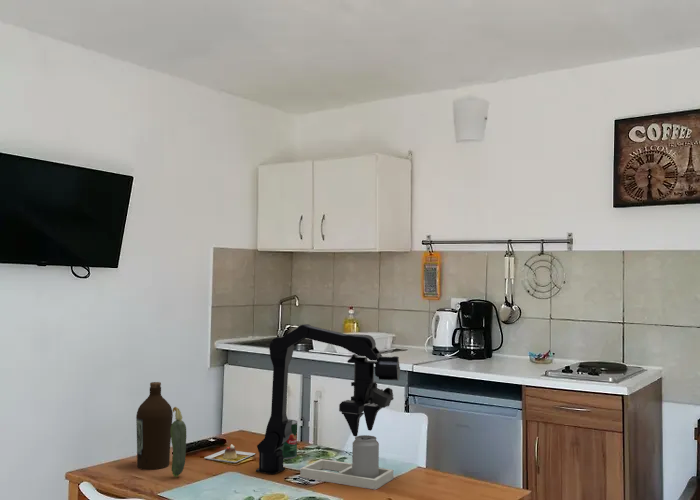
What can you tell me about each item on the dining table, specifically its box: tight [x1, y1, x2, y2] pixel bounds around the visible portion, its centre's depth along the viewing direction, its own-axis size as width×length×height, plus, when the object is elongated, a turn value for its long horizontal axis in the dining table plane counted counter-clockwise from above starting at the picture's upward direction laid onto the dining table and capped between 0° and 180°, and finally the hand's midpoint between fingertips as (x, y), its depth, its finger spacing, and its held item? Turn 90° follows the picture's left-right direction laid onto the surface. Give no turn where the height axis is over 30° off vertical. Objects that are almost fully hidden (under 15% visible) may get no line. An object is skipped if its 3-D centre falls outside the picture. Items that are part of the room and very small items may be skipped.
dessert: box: [203, 443, 257, 464], centre depth 213 cm, size 12×12×5 cm
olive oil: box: [135, 381, 174, 471], centre depth 203 cm, size 11×11×25 cm
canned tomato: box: [280, 418, 298, 460], centre depth 216 cm, size 8×8×11 cm
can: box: [351, 434, 380, 479], centre depth 189 cm, size 8×8×12 cm
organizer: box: [299, 458, 394, 490], centre depth 192 cm, size 24×12×2 cm, turn 63°
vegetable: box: [171, 406, 187, 478], centre depth 190 cm, size 4×4×20 cm
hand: (362, 433), depth 193 cm, fingers open, 9 cm apart
